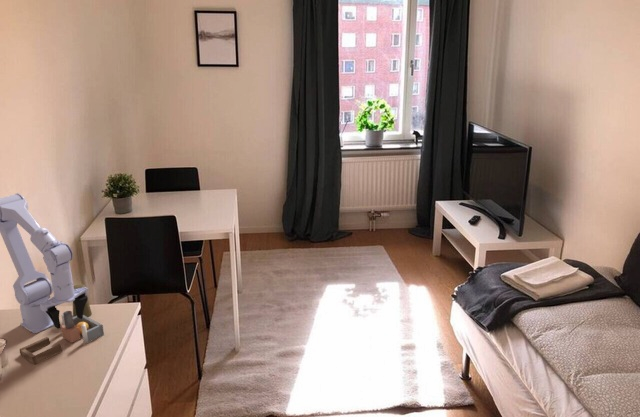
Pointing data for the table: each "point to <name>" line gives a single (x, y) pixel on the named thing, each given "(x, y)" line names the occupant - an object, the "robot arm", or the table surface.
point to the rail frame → (43, 355)
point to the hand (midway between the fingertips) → (69, 322)
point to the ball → (80, 326)
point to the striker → (70, 328)
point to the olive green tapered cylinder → (87, 309)
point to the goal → (94, 328)
